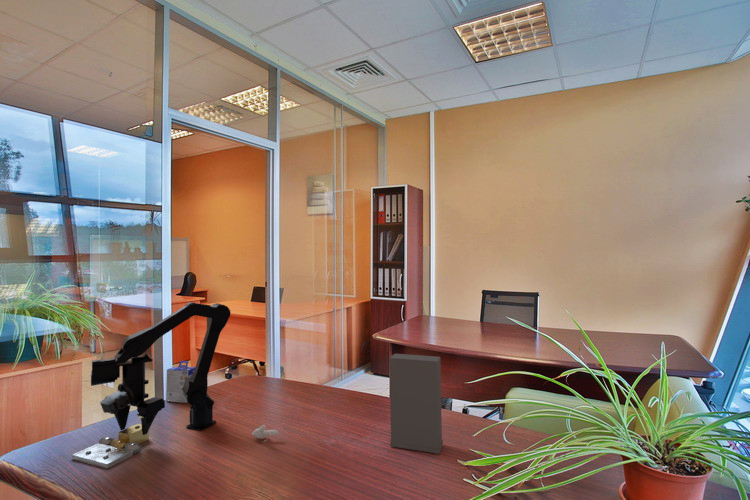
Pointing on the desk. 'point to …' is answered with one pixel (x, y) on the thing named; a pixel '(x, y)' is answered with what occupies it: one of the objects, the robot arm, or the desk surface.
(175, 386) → the ink cartridge box
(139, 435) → the brass leaf
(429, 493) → the desk surface
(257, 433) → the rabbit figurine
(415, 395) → the upright charcoal grey block
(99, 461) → the steel leaf
